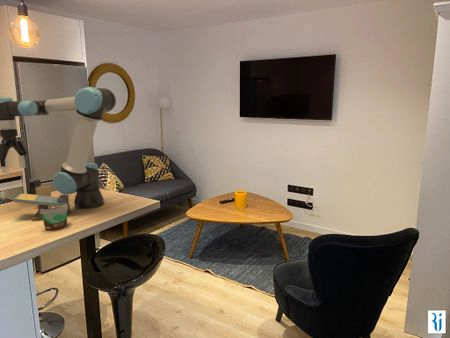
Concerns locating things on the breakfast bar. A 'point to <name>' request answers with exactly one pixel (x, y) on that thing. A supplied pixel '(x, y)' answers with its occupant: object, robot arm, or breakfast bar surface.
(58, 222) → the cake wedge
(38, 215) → the beam stand
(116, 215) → the breakfast bar surface
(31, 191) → the phone stand
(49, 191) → the wooden block
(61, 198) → the beam
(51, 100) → the robot arm
